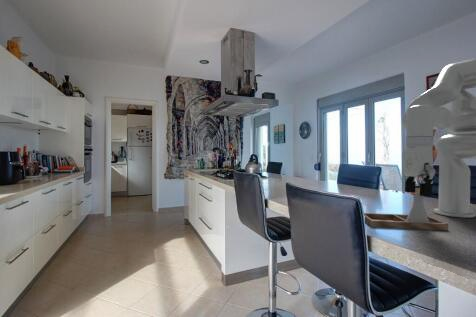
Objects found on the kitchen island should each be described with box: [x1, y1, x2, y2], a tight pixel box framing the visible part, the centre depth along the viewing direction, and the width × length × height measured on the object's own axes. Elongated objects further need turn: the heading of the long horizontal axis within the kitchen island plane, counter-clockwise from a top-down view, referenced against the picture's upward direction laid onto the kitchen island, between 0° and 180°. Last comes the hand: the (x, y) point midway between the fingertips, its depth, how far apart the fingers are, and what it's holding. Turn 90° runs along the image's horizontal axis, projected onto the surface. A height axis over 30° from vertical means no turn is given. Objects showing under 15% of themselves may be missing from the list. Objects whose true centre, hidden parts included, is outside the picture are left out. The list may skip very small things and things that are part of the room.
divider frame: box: [363, 212, 449, 231], centre depth 89 cm, size 22×12×2 cm, turn 81°
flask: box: [406, 193, 430, 223], centre depth 88 cm, size 7×7×10 cm
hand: (417, 194), depth 87 cm, fingers open, 9 cm apart
